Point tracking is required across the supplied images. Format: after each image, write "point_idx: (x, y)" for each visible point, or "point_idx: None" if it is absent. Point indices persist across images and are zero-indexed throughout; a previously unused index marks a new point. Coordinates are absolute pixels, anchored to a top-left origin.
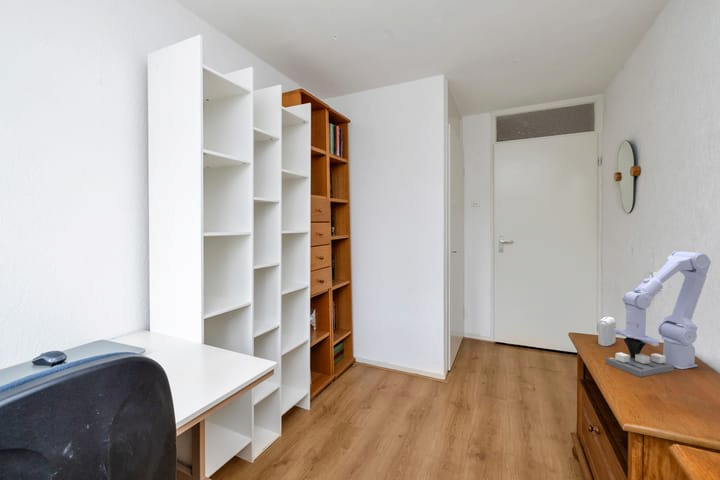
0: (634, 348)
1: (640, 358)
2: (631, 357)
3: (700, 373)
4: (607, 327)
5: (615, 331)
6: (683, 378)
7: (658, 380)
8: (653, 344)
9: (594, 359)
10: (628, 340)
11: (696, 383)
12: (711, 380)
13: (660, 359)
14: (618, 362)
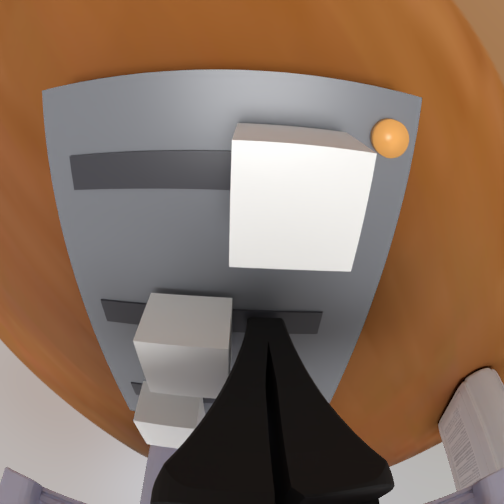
0: (228, 409)
1: (174, 325)
2: (275, 319)
3: (108, 416)
4: (497, 466)
5: (498, 500)
6: (51, 331)
7: (18, 173)
8: (12, 485)
9: (477, 105)
10: (315, 498)
11: (11, 320)
12: (50, 386)
13: (137, 407)
14: (285, 95)
